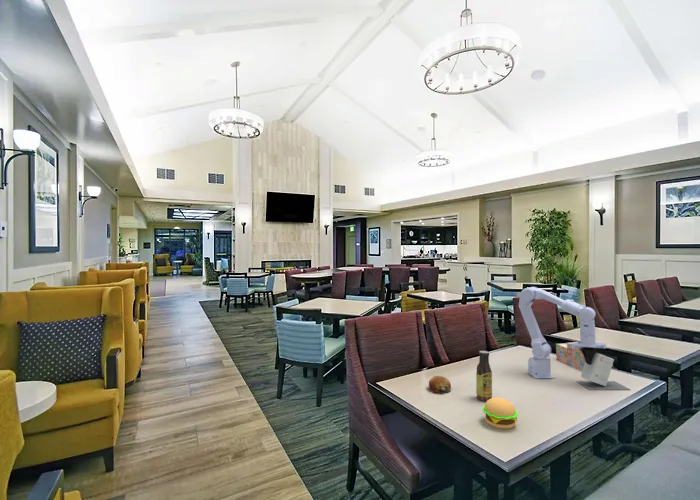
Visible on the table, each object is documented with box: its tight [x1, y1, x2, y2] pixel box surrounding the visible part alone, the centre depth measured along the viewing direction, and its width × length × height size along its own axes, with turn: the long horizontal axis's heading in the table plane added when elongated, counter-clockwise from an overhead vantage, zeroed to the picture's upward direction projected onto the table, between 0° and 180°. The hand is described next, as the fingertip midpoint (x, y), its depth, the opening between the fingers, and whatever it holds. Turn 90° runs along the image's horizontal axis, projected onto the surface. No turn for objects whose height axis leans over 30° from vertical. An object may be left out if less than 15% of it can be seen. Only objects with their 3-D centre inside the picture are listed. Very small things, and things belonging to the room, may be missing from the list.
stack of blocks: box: [555, 341, 585, 372], centre depth 186 cm, size 21×6×12 cm, turn 5°
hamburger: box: [482, 397, 519, 430], centre depth 126 cm, size 12×12×9 cm
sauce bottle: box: [475, 350, 493, 402], centre depth 147 cm, size 6×6×20 cm
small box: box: [580, 352, 615, 386], centre depth 159 cm, size 8×6×13 cm
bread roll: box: [428, 375, 452, 395], centre depth 158 cm, size 10×10×8 cm
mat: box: [575, 380, 631, 391], centre depth 158 cm, size 18×10×1 cm, turn 86°
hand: (588, 363), depth 158 cm, fingers closed
